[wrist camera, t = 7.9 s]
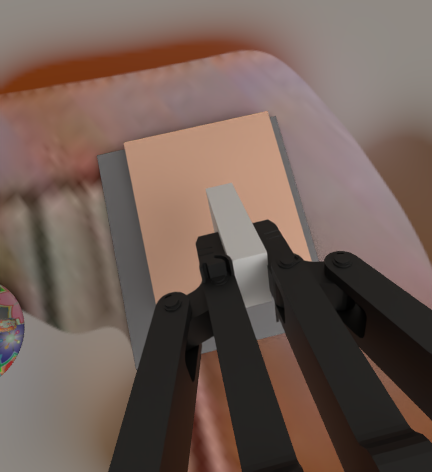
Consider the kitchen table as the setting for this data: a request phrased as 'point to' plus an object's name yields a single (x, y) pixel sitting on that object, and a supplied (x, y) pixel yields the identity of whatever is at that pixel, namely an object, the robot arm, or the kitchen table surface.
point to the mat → (135, 261)
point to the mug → (9, 329)
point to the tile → (194, 192)
